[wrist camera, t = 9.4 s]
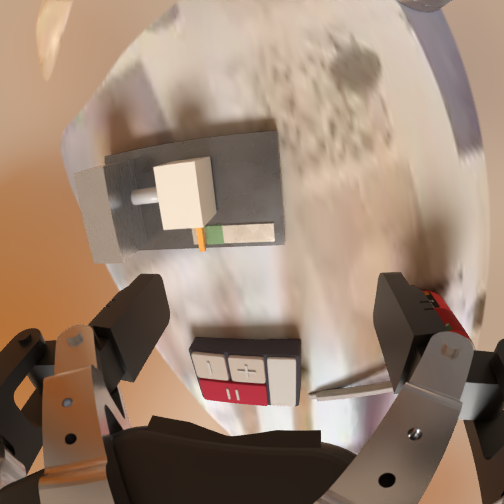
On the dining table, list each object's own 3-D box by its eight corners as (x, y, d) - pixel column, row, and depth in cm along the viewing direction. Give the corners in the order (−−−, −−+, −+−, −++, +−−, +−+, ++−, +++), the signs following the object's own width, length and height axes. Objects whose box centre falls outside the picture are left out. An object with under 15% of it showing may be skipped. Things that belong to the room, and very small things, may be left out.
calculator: (185, 351, 37) (299, 359, 34) (196, 332, 41) (301, 337, 38) (201, 401, 42) (298, 410, 38) (209, 383, 45) (300, 389, 42)
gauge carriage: (141, 166, 30) (117, 173, 25) (210, 156, 29) (194, 161, 24) (156, 250, 34) (137, 268, 29) (221, 248, 32) (209, 267, 28)
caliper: (430, 355, 37) (443, 383, 31) (430, 359, 38) (443, 387, 32) (308, 392, 43) (308, 423, 37) (310, 396, 43) (310, 427, 37)
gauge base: (111, 155, 32) (72, 164, 25) (277, 130, 28) (272, 129, 22) (128, 246, 36) (96, 271, 29) (284, 239, 33) (282, 269, 26)
